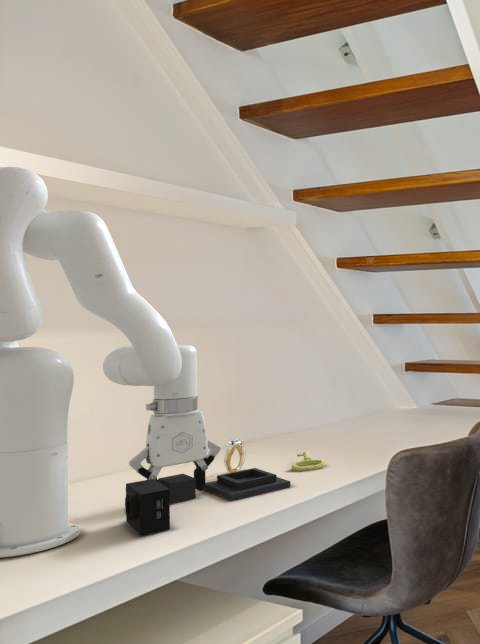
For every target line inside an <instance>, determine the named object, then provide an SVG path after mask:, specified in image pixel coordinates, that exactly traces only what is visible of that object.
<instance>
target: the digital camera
mask: <svg viewBox="0 0 480 644" xmlns="http://www.w3.org/2000/svg"><path fill="white" fill-rule="evenodd" d="M170 507H171V504H170V491H169V489H168V488H167V487H165V486H164V485H162V484H161V483H159V482H157V481H156V480H154V479H149V480H147V479H145V480H138V481H132V482H128V483H125V498H124V511H125V522H126V523H127V524H128V525H129V526H130V528H131V529H133V531H135V533H137V534H138V535H139V537H142V536H143V537H144V536H147V535H151V534H155V533H160V532H164V531H165V532H166V531H169V530H171V508H170Z"/></svg>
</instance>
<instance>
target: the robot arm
mask: <svg viewBox="0 0 480 644" xmlns="http://www.w3.org/2000/svg"><path fill="white" fill-rule="evenodd" d="M48 199H49V191H48V187H47V185H46V183H45V181H44V180H43V178H42V177H41V176H40V175H38V174H37V173H36V172H34V171H32V170H30V169H27V168H23V167H18V166H4V167H0V558H8V557H9V558H10V557H18V556H25V555H30V554H34V553H38V552H43V551H46V550H49V549H53V548H56V547H59V546H61V545H65V544H67V543H69V542H71V541H73V540H74V539H76V538H77V537H78V536H79V535H80V534H81V527H80V525H79V524H77V523H73V522H69V466H68V465H69V456H68V454H69V451H68V447H69V445H68V444H69V442H68V420H69V409H70V402H71V398H72V394H73V389H74V384H75V375H74V370H73V367H72V365H71V363H70V362H69V360H68V359H67V358H66V357H65V356H63V355H62V354H61V353H59V352H57V351H55V350H53V349H49V348H45V347H40V346H39V347H37V346H20V344H19V341H23V340H26V339H27V338H30V337H32V336H34V335H35V334H36V333H38V331H40V329H41V327H42V325H43V322H44V312H43V308H42V305H41V302H40V299H39V297H38V294H37V291H36V287H35V285H34V281H33V280H32V276H31V274H30V270H29V268H28V265H27V261H26V258H25V254H27V255H29V256H32V257H34V258H39V259H42V260H46V261H58V262H59V264H60V266H61V268H62V270H63V271H64V274H65V276H66V278H67V280H68V283H69V285H70V287H71V289H72V291H73V293H74V296H75V298H76V300H77V302H78V304H79V305H80V306H81V307H82V308H84V309H85V310H87V311H88V312H90V313H92V314H93V315H95V316H97V317H99V318H101V319H103V320H105V321H107V322H109V323H110V324H112V325H113V326H114V327H116V328H117V329H118V330H120V332H122V333H123V335H124V336H125V337H126V338H127V339H128V341H129V342H130V344H131V345H129V346H122V347H118V348H117V349H114V350H113V351H111V352H109V354H107V355H106V357H105V358H104V360H103V363H102V371H103V374H104V375H105V377H106V378H107V379H108V380H109V381H111V382H112V383H114V384H117V385H120V386H121V385H122V386H130V387H131V386H133V387H153V399H152V402H150V403H146V404H145V411H151V412H153V414H151V415H150V417H149V419H148V420H149V421H148V426H147V431H146V438H145V440H146V441H145V442H146V443H145V448H143V449H142V450H141V451H140V452H139V453H138V454H136V455H135V456H134V457H132V458H131V459H130V460H129V461H128V465H129V466H130V467H131V468H132V469H133V470H134V471H135V472H136V473H137V474H139V475H140V476H142V477H143V478H144V479H145V480H149V479H154V480H156V481H157V482H159V480H158V475H159V474H160V472H161V470H162V469H163V468H165V467H172V466H179V465H184V464H189V463H193V464H194V466H195V468H194V470H193V478H196V491H199V492H201V491H204V490H205V489H204V488H203V485H205V483H206V482H207V480H206V471H207V470H208V468H209V466H210V465H211V464H212V463H213V462H214V461H215V458H216V457H217V456H218V454H219V453H220V451H221V446H219V445H217V444H216V443H213V442H211V441H210V440H208V433H207V425H206V420H205V416H204V412H203V410H199V398H198V397H199V396H198V390H199V389H198V388H199V387H198V351H197V348H196V347H194V345H190V344H177V341H176V338H175V336H174V334H173V332H172V329H171V327H170V326H169V324H168V323H167V321H166V319H164V318H163V316H162V315H161V314H160V313H159V312H158V311H157V310H156V309H155V308H154V307H153V306H152V305H151V303H149V302H148V301H147V300H146V299H145V298H144V297H143V296H142V295H141V294H139V293H138V292H137V290H136V289H135V288H134V286H133V284H132V282H131V280H130V277H129V275H128V272H127V270H126V267H125V265H124V263H123V261H122V260H123V259H122V258H121V256H120V253H119V250H118V249H117V247H116V244H115V241H114V240H113V237H112V234H111V233H110V230H109V228H108V226H107V224H106V223H105V221H104V220H103V219H102V217H100V215H98V214H96V213H94V212H93V211H88V210H84V209H83V210H82V209H67V210H66V209H65V210H58V211H49V210H46V209H45V208H46V205H47V203H48ZM144 460H145V462H146V464H149V466H148V467H147V468H146V467H144V466H143V465H142V462H143V461H144Z"/></svg>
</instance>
